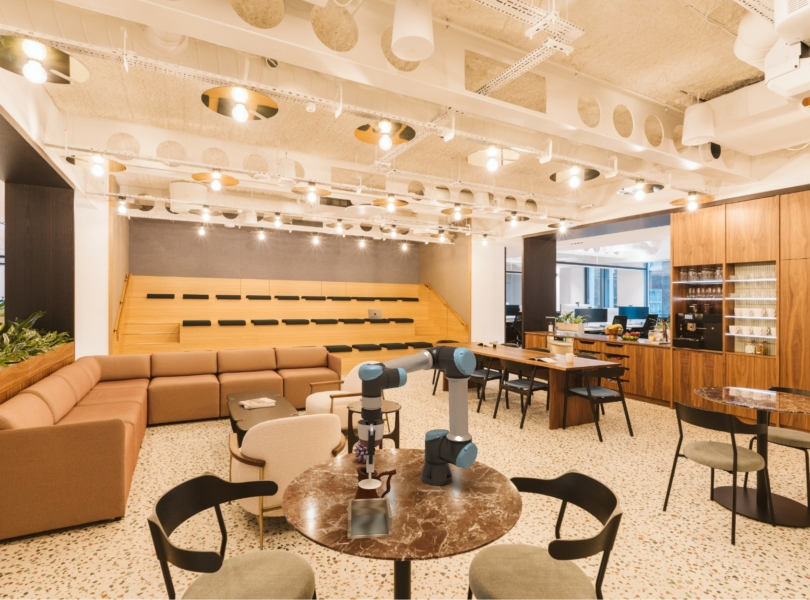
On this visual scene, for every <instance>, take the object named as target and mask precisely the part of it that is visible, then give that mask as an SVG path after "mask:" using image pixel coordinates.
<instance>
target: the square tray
mask: <svg viewBox="0 0 810 600" xmlns="http://www.w3.org/2000/svg"><path fill="white" fill-rule="evenodd" d="M353 499H354V498H353ZM353 499H348V500H347V540H351V539H353V540H354V539H355V540H356V539H368V538H369V539H372V538H389V537H390V538H391V537H393V519H394V518H393V513H392V507H391V502H390V498H389V497H384V498H381V497H380V498H376V499H354V500H353Z"/></svg>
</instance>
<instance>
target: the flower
mask: <svg viewBox="0 0 810 600" xmlns="http://www.w3.org/2000/svg"><path fill="white" fill-rule="evenodd" d="M357 444H358V445H356V444H355V445H354V447H356V448H354V449H353V452H354V454H355V455H354V458H358V460H357V461H358V462H360V461H363V463H366V462H367V455H365V453H367V448H366V447H364V446H363V445H362V444H361V443H360V441H359V440H358V441H357ZM375 452H376V449H375Z"/></svg>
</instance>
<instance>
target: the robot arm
mask: <svg viewBox="0 0 810 600" xmlns="http://www.w3.org/2000/svg"><path fill="white" fill-rule="evenodd" d="M476 366H477V359H476V356H475V354H474V353H473V351H472V349H469V348H466V347H462V346H461V347H460V346H454V345H453V346H450V345H437V346H433V347H428V348H424V349H420V351H419V352H417V353H413V354H409V355H404V356H401V357H397V358H393V359H390V360H386V361H382V362H377V363H372V364H371V363H363V364H361V365H360V366H359V368H358V371H357V372H358V374H357V375H358V378H359V379H360V380H361V398H360V399H359V401H360V402H361V409H360V411H361V412H360V417H361V418H362V419H365V420H368V422H366V425H369V426H373V425H377V424H376V422H375V420H376V419H380V420H381V418H382V408H381V407H382V405H383V404H382V403H383V401H382V399H383V395H382V392H383V391H384V390H390V389H396V388H401V387H404V386H405V385H406V383H407V382H408V374H410V373H414V372H417V371H421V370H424V371H428V370H438V371H443V372H444V377H445V379H446V380H448V414H449V415H448V417H449V419H448V423H449V424H448V425H449V428H448V429H443V428H437V429H429V430H428V431H426V433H425V437H424V463H423V466H422V469H421V472H420V480H421V481H422V482H423V483H425V484H427V485H431V486H445V485H449V484H450V483H452V481H453V473H452V469H451V466H450V464H451V465H454V466H455V467H457V468H461V469H468V468H470V467H471V466H473V464H475V461H476V459H477V457H478V449H479V448H478V445H476V444H475V442H473V437H472V436H473V435H472V434H471V433H470V432H469V397H468V396H469V393H468V391H469V388H468V381H469V380H470V379H471V377H472V374H473V373H474V372H475V370H476ZM375 432H376V431H375V430H373V427H370V430H368V448H367V453H365V455H367V459H366V461H365V463H366V464H365V465H366V466H365V467H366V469H367V473H371V472H374V470H375V454H376V451H375V450H376V447H375Z"/></svg>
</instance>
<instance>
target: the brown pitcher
mask: <svg viewBox="0 0 810 600" xmlns="http://www.w3.org/2000/svg"><path fill="white" fill-rule="evenodd" d="M356 472H357V481H358V483H359V482H360V481H362V480H365V479H369V473H367V469H366V466H365V465H363V466H359V467H357V468H356ZM393 475H394V476H395V475H397V469H395V468H394V469H392V470H389V471H387V470H386V471H383V472H379V474H378V471H377V470H375V469H374V472H371V479H376V480H379V481H380V482H381V483H382V479H381V478H383V476H387V479H386V481H385V487H386V488H385V491H383V492H382V494H381V496H379V494H378V493H377V490H376V489H377V488H374V489H364V488H361V487H360V486H359V485H358V483H357V488H356V489H357V490H356V493H355V497H354V498H353V499H352V500H354V499H376V498H385V497H386V495H388V494H389V493H390V492H391V489H392V488H391V487H392V486H391V480H392V477H393Z"/></svg>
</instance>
